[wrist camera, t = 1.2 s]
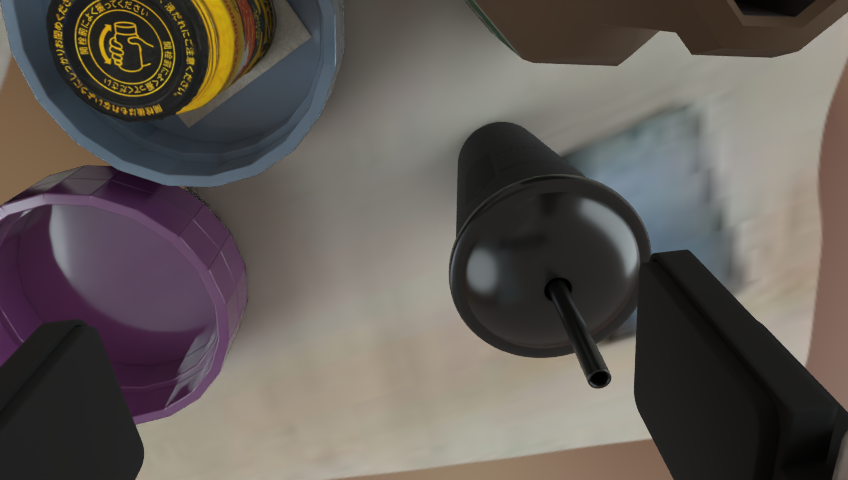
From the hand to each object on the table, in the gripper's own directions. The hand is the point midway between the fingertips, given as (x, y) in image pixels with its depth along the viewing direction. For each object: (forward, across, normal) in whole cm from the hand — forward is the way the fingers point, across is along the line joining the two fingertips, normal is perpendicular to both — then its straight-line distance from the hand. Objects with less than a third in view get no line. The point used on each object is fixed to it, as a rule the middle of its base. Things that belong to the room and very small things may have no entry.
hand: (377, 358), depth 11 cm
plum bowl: (+25, +18, +10) cm, 32 cm away
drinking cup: (+25, -6, +5) cm, 27 cm away
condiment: (+25, +9, -4) cm, 27 cm away
